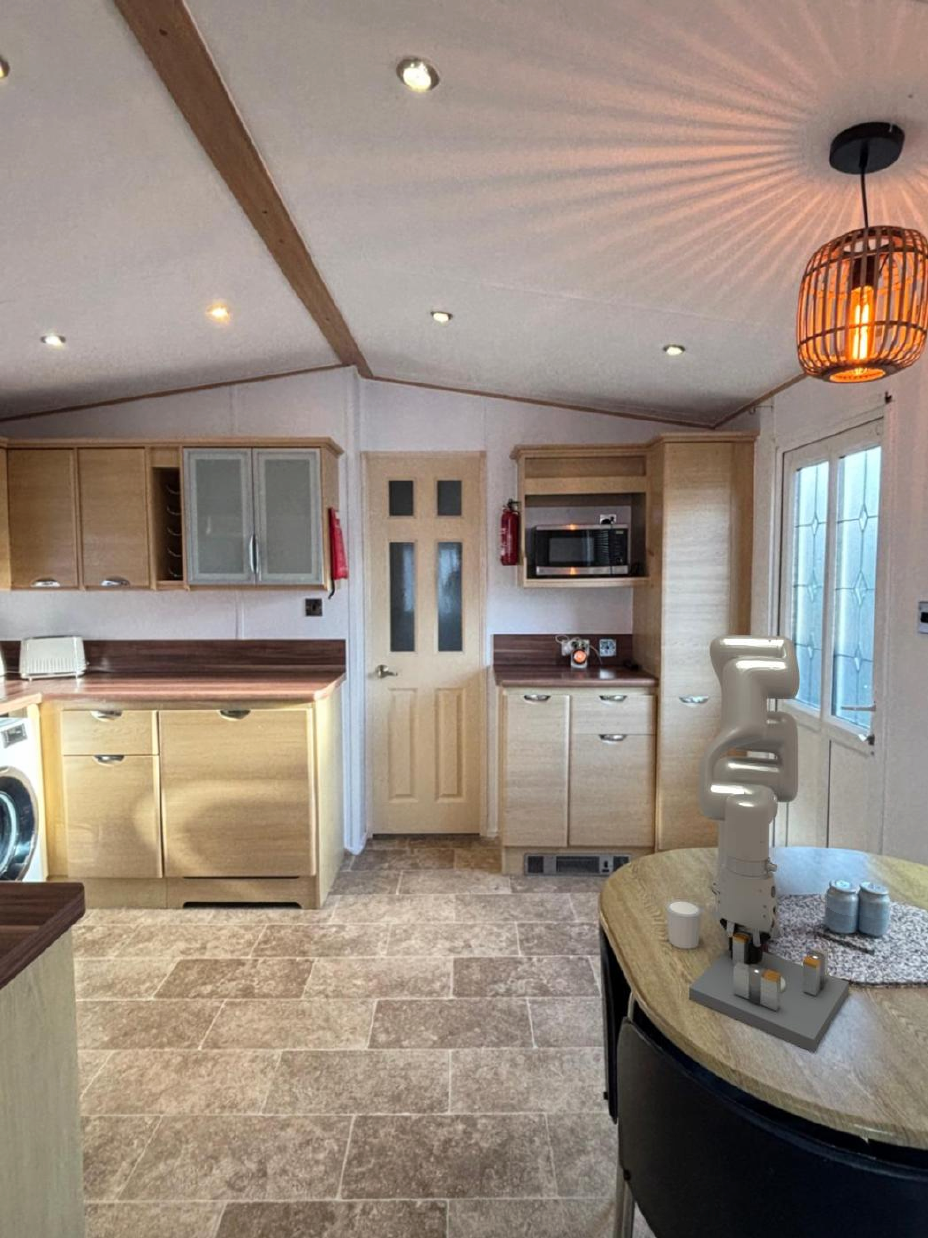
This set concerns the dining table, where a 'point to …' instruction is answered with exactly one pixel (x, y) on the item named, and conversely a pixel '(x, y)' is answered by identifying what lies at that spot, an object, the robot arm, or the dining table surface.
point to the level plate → (799, 1010)
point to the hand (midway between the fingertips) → (745, 959)
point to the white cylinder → (683, 923)
